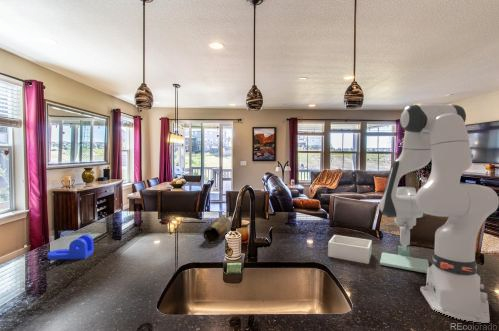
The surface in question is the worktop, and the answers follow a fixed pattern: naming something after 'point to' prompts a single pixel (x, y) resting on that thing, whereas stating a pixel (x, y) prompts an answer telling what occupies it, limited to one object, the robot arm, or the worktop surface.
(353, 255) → the tub
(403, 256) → the lid
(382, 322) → the worktop surface
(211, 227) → the decorative bottle
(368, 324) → the worktop surface
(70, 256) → the bracket
